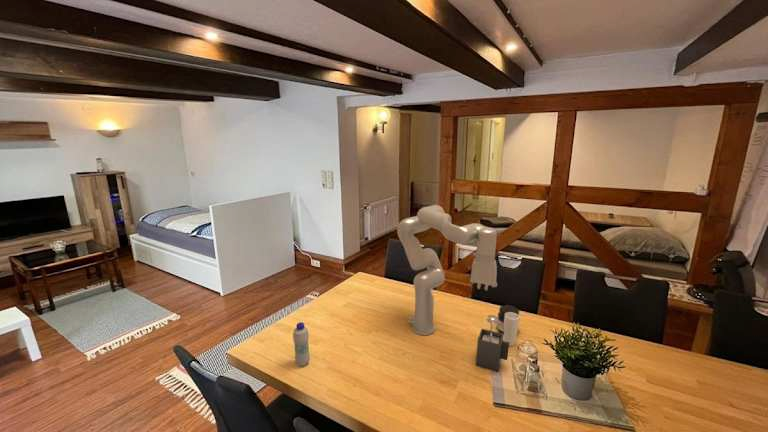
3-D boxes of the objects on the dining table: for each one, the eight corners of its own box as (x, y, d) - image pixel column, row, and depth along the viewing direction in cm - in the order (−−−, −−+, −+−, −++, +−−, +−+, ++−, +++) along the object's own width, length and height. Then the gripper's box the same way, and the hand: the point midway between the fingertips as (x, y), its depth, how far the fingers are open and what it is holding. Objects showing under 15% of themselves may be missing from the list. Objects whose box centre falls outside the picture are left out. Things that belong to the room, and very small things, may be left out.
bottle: (313, 360, 151) (310, 320, 146) (305, 369, 145) (302, 328, 140) (300, 356, 153) (297, 317, 149) (291, 366, 147) (288, 325, 142)
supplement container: (495, 333, 171) (497, 312, 168) (497, 323, 181) (499, 303, 178) (517, 338, 168) (520, 316, 165) (518, 327, 177) (520, 306, 174)
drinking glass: (517, 348, 160) (520, 320, 156) (502, 346, 161) (505, 318, 157) (515, 339, 166) (518, 312, 163) (501, 338, 168) (503, 311, 164)
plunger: (480, 343, 146) (482, 319, 143) (483, 335, 152) (485, 312, 149) (497, 348, 143) (500, 323, 140) (499, 339, 149) (502, 315, 146)
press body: (475, 365, 148) (477, 339, 144) (479, 353, 156) (481, 328, 153) (505, 374, 143) (508, 347, 139) (507, 360, 151) (510, 335, 148)
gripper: (465, 257, 140) (462, 297, 144) (503, 263, 134) (499, 304, 138) (468, 251, 146) (466, 290, 151) (505, 257, 140) (501, 296, 145)
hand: (482, 296), depth 144 cm, fingers closed
